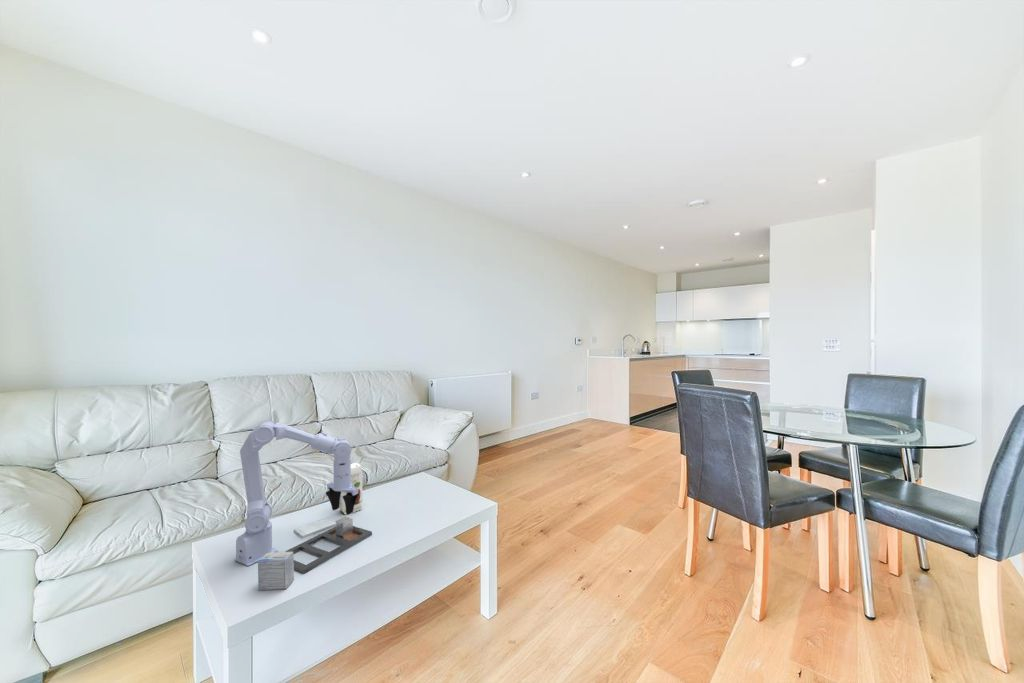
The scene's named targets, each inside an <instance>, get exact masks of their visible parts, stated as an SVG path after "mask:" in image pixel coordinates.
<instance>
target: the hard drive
mask: <svg viewBox="0 0 1024 683" xmlns="http://www.w3.org/2000/svg"><path fill="white" fill-rule="evenodd" d="M335 526H336V521H334V520H333V519H330V517H326V518H322V519H320V520H317V521H315V522H312V523H308V524H306V525H302V526H299V527H298V528H294V529H293V533H295V534H296V535H297V536H298V537H299V538H300V539H305V538H308V537H311V536H313V535H316V534H320V533H322V532H325V531H327V530H329V529H331V528H333V527H335Z"/></svg>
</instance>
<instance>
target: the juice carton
mask: <svg viewBox="0 0 1024 683" xmlns="http://www.w3.org/2000/svg"><path fill="white" fill-rule="evenodd" d="M351 483H353V486H354V487H356V488H358V492H359V496H358V497H357V499H356V502H355V505H354V509H353V513H357V512H359V510H360V511H362V509H363V501H364V500H363V494H364V493H363V469H362V465H361V464H360V463H358V462H353V463H351ZM347 494H348V493H345V492H341V494H340V503H339V509H340V512H341V511H342V512H343V513H344V514H345V515H344V514H343V513H342V512H341V513H342V514H343V515H344V516H346V514H347V513H346V506H345V502H344V499H343V496H344V495H347ZM356 511H357V512H356ZM347 515H348V514H347Z"/></svg>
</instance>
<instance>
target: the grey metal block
mask: <svg viewBox="0 0 1024 683" xmlns="http://www.w3.org/2000/svg"><path fill="white" fill-rule="evenodd" d="M335 522H336V536H337V537H340V538H343V539H347V538H349V537H350V536H352V535H353V526H354V525H353V522H354V520H353V518H352V517H347V516H343V517H342V518H340V519H337V520H335Z"/></svg>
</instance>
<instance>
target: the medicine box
mask: <svg viewBox="0 0 1024 683" xmlns="http://www.w3.org/2000/svg"><path fill="white" fill-rule="evenodd" d="M294 560H295V558H294V554H293V552H285V551H278V552H272V553H267V554H265V555H264V556H263V557H262V558H261V559H260V560H259V561H258V562H257V574H258V575H257V578H258V579H257V581H258V582H257V586H258V591H272V590H286V589H288V588H289V586H290V585H292V583H293V582H294V581H295V570H294Z"/></svg>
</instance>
